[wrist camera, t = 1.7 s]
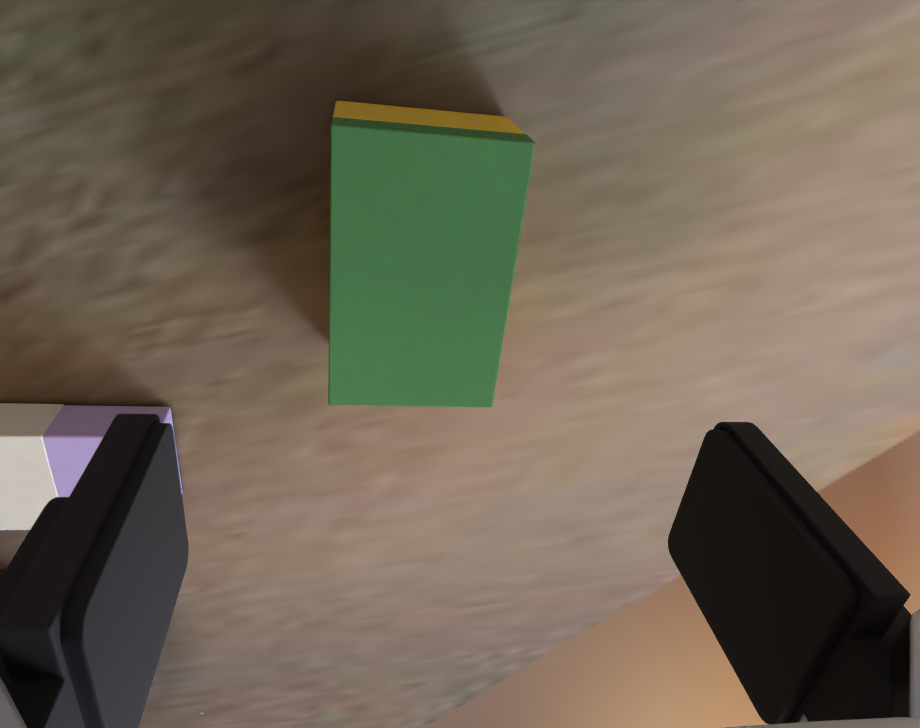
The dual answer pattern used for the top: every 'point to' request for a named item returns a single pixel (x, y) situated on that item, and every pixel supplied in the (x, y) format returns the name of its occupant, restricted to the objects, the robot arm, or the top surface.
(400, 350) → the sponge
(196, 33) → the top surface
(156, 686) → the top surface
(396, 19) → the top surface
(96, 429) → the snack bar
